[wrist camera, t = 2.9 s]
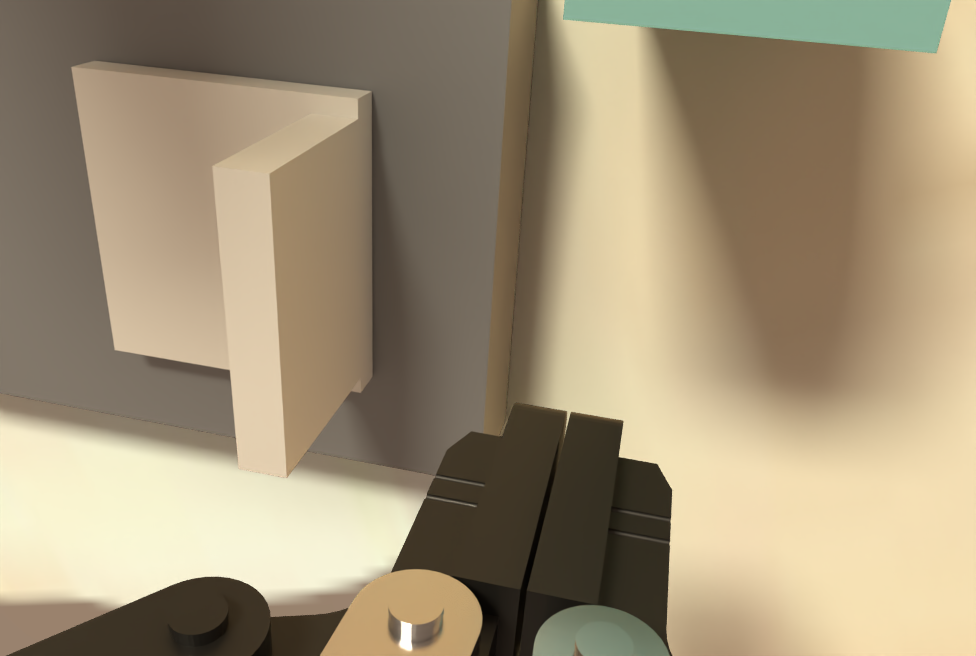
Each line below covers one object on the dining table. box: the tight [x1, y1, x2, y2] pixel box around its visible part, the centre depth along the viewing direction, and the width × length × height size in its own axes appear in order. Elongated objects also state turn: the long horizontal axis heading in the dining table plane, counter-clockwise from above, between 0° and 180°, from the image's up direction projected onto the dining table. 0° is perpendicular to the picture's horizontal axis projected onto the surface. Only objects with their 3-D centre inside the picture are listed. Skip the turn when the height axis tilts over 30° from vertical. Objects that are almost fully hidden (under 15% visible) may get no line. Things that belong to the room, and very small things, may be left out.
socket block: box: [0, 0, 538, 475], centre depth 22 cm, size 18×12×3 cm, turn 86°
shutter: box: [71, 61, 373, 478], centre depth 18 cm, size 6×7×5 cm
